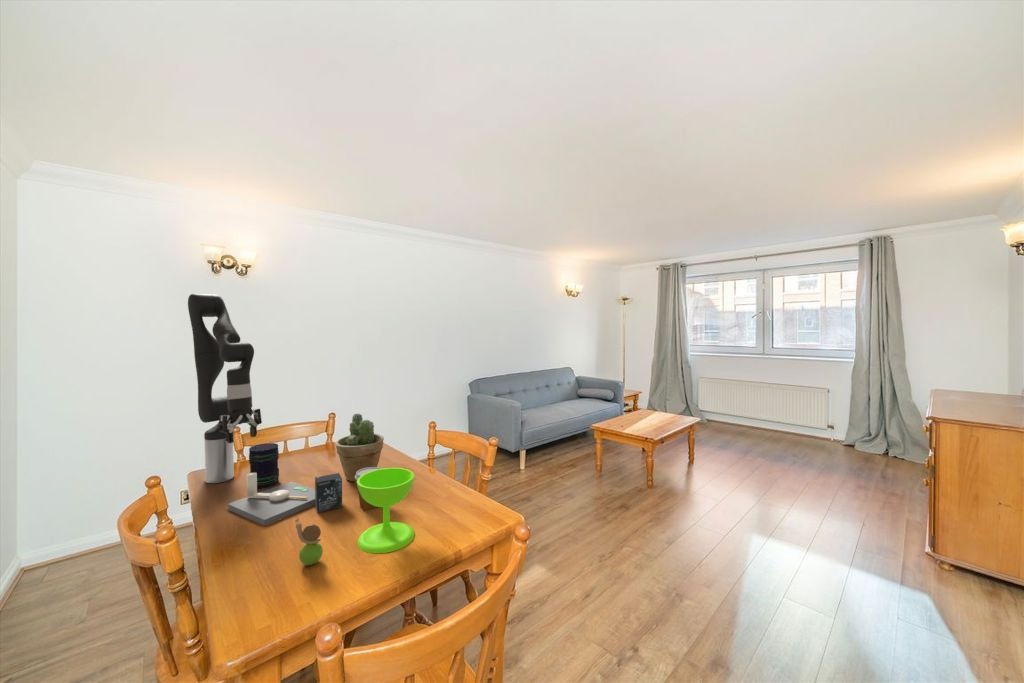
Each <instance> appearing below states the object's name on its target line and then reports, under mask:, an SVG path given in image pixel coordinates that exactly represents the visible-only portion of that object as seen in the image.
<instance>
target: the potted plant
mask: <svg viewBox="0 0 1024 683" xmlns="http://www.w3.org/2000/svg"><path fill="white" fill-rule="evenodd" d="M374 428H375V425H374V422H373V421H371V420H369V419H363V415H362V414H360V413H354V414H353V415H352V417H351V422H350V423H349V433H350V434H349V435H346V436H343V437H341V438H339V439H338V440H336V442H335V450H336V453H337V454H338V457H339V461H340V465H341V468H342V471H343V474H344V477H345V479H346V481H348V480H349V481H348V482H352V481H354V482H353V483H357V481H356V479H355V475H356V472H357V471H358V470H360V469H363V468H367V467H378V465H379V462H380V459H381V458H380V457H381V454H382V450H383V448H384V439H385V438H384V436H383V435H381V434H378V433H375V429H374Z"/></svg>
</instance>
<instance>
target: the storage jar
mask: <svg viewBox="0 0 1024 683" xmlns="http://www.w3.org/2000/svg"><path fill="white" fill-rule="evenodd" d="M248 451H249V453H248V464H249V471H250V472H249V473H257V491H258V490H267V489H271V488H274V487H276V486H278V485H279V483H280V480H279V479H280V468H279V458H280V456H279V454H280V452H279V444H278V443H274V442H269V443H260V444H256V445H253V446H250V447H249V449H248Z"/></svg>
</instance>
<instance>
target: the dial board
mask: <svg viewBox="0 0 1024 683" xmlns="http://www.w3.org/2000/svg"><path fill="white" fill-rule="evenodd" d="M278 490H288V491H289V496H303V497H307V499H298V498H287V499H285V500H282V501H275V502H273V501H270V500H269V499H266V498H247V497H243V498H240V499H238V500H235V501H232V502H229V503H227V510H228V511H229V512H232V513H234V514H237V515H239V516H241V517H244V518H246V519H248V520H250V521H251V522H255V523H257V524H259V525H261V526H263V527H265V526H268V525H271V524H273V523H275V522H277V521H279V520H282V519H285V518H287V517H289V516H292V515H294V514H296V513H298V512H301V511H304V510H306V509H308V508H311V507H313V506H315V488H313V487H309V486H306V485H303V484H300V483H297V482H294V481H289V482H287V483H283V484H281V485H276V486H273V487H270V488H267V489H265V490H263V491H261V492H259V493H272V492H275V491H278Z"/></svg>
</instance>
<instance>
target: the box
mask: <svg viewBox="0 0 1024 683" xmlns="http://www.w3.org/2000/svg"><path fill="white" fill-rule="evenodd" d="M314 481H315V482H314V489H315V505H314V506H315V510H316V514H318V513H319V514H320V513H323V512H326V511H331V510H336V509H339V508H340V509H342V508H343V478H342V476H341V474H340V472H337V473H331V474H326V475H321V476H315V477H314Z"/></svg>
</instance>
